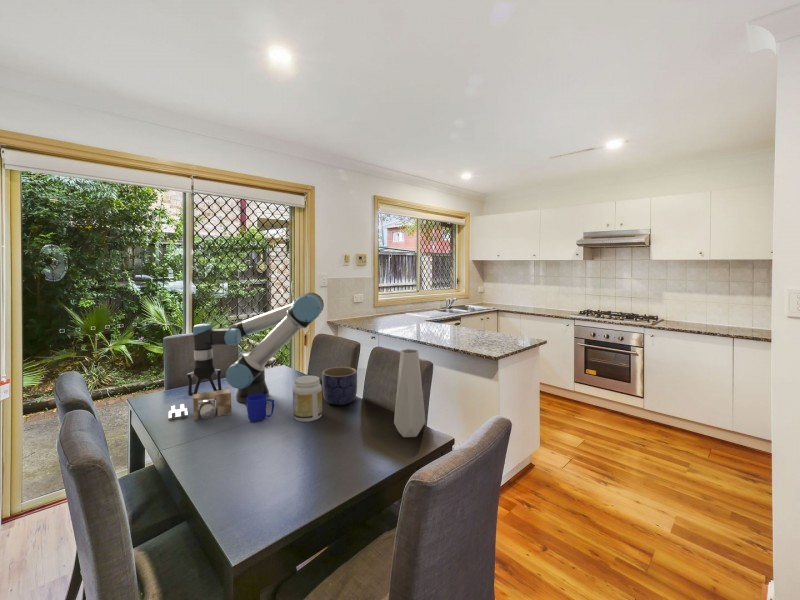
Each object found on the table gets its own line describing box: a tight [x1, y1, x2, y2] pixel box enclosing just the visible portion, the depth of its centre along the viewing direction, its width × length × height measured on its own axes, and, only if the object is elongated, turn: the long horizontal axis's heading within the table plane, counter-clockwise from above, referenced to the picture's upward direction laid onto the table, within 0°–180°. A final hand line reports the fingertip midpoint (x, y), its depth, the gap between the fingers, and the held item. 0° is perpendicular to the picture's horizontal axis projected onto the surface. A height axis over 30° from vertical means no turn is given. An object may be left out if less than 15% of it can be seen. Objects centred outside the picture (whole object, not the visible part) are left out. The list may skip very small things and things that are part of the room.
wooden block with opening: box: [192, 388, 233, 421], centre depth 164 cm, size 14×6×10 cm, turn 121°
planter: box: [321, 366, 358, 406], centre depth 180 cm, size 16×17×15 cm
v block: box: [168, 403, 189, 421], centre depth 164 cm, size 7×9×3 cm
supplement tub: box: [292, 375, 323, 423], centre depth 162 cm, size 12×12×17 cm
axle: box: [198, 399, 217, 420], centre depth 166 cm, size 6×15×6 cm, turn 31°
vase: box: [393, 348, 426, 438], centre depth 145 cm, size 12×12×33 cm
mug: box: [245, 394, 275, 423], centre depth 158 cm, size 8×12×10 cm
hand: (205, 408), depth 171 cm, fingers closed on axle, 6 cm apart
